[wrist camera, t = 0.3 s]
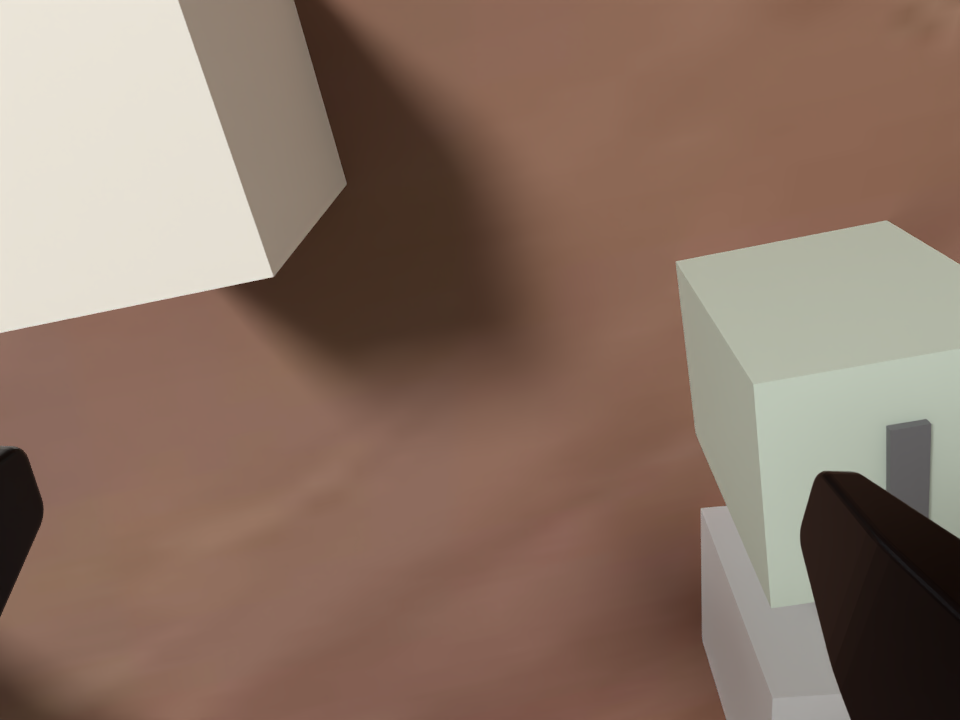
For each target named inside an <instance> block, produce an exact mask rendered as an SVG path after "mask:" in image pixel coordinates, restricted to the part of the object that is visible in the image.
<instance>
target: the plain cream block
mask: <svg viewBox="0 0 960 720" xmlns="http://www.w3.org/2000/svg"><path fill="white" fill-rule="evenodd" d="M346 185H347V183H346V179H345V176H344V172H343V169H342V165H341V162H340V158H339V155H338V151H337V148H336V144H335V141H334V138H333V134H332V131H331V127H330V124H329V120H328V117H327V113H326V110H325V106H324V103H323V99H322V96H321V92H320V89H319V86H318V82H317V79H316V75H315V72H314V68H313V65H312V61H311V58H310V54H309V51H308V47H307V44H306V40H305V37H304V34H303V30H302V27H301V23H300V20H299V16H298V13H297V9H296V6H295V2H294V0H0V333H2V332H7V331H11V330H16V329H21V328H26V327H31V326H36V325H41V324H46V323H51V322H56V321H60V320H65V319H70V318H75V317H80V316H85V315H90V314H95V313H100V312H105V311H109V310H114V309H119V308H124V307H129V306H134V305H139V304H144V303H149V302H154V301H158V300H163V299H168V298H173V297H178V296H183V295H188V294H193V293H198V292H203V291H207V290H212V289H217V288H222V287H227V286H232V285H237V284H242V283H247V282H252V281H256V280H261V279H266V278H271V277H274V276H275V275H276V273H277V272H278V271H279V270H280V268H281V267H282V266H283V265H284V263H285V262H286V261H287V259H288V258H289V257H290V256H291V254H292V253H293V252H294V251H295V249H296V248H297V247H298V246H299V244H300V243H301V242H302V240H303V239H304V238H305V237H306V235H307V234H308V233H309V232H310V230H311V229H312V228H313V227H314V225H315V224H316V223H317V222H318V220H319V219H320V218H321V216H322V215H323V214H324V213H325V211H326V210H327V209H328V208H329V206H330V205H331V204H332V203H333V201H334V200H335V199H336V197H337V196H338V195H339V194H340V192H341V191H342V190H343V189H344V187H345V186H346Z"/></svg>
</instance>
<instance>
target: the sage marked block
mask: <svg viewBox="0 0 960 720" xmlns="http://www.w3.org/2000/svg"><path fill="white" fill-rule="evenodd" d="M676 269H677V277H678V286H679V295H680V303H681V312H682V320H683V329H684V337H685V346H686V354H687V363H688V372H689V380H690V389H691V397H692V406H693V414H694V423H695V432H696V436H697V438H698V440H699V443H700V445H701V447H702V450H703V452H704V454H705V457H706V459H707V461H708V464H709V466H710V468H711V470H712V473H713V475H714V477H715V480H716V482H717V484H718V487H719V489H720V491H721V494H722V496H723V498H724V501H725V503H726V505H727V508H728V510H729V512H730V514H731V517H732V519H733V521H734V524H735V526H736V528H737V531H738V533H739V535H740V538H741V540H742V542H743V545H744V547H745V549H746V552H747V554H748V556H749V558H750V561H751V563H752V565H753V568H754V570H755V572H756V575H757V577H758V579H759V582H760V584H761V586H762V589H763V591H764V593H765V596H766V598H767V600H768V602H769V605H770V607H771V608H777V607H784V606H791V605H798V604H806V603H813V602H815V601H814V597H813V593H812V590H811V586H810V582H809V578H808V574H807V570H806V566H805V562H804V558H803V554H802V550H801V545H800V528H801V523H802V520H803V516H804V513H805V509H806V506H807V502H808V499H809V495H810V492H811V488H812V485H813V482H814V479H815V478H816V476H817V475H818V474H819V473H821V472H822V471H852V472H857V473H860V474H861V475H863V476H865V477H866V478H868V479H869V480H871V481H872V482H874V483H875V484H877V485H878V486H880V487H881V488H883V489H885V490H886V491H888V492H889V493H891V494H892V495H894V496H895V497H897V498H898V499H900V500H901V501H903V502H904V503H906V504H907V505H909V506H911V507H912V508H914V509H915V510H917V511H918V512H920V513H921V514H923V515H924V516H926V517H927V518H929V519H930V520H932V521H933V522H935V523H936V524H938V525H940V526H941V527H943V528H944V529H946V530H947V531H949V532H950V533H952V534H953V535H955V536H956V537H958V538H959V539H960V264H958V263H957V262H955V261H953V260H952V259H950V258H948V257H947V256H945V255H943V254H942V253H940V252H938V251H937V250H935V249H933V248H932V247H930V246H928V245H927V244H925V243H923V242H922V241H920V240H918V239H917V238H915V237H913V236H912V235H910V234H908V233H907V232H905V231H903V230H902V229H900V228H898V227H897V226H895V225H893V224H892V223H890V222H889V221H882V222H877V223H872V224H866V225H861V226H856V227H851V228H846V229H841V230H835V231H830V232H825V233H820V234H815V235H810V236H805V237H799V238H794V239H789V240H784V241H779V242H774V243H768V244H763V245H758V246H753V247H748V248H743V249H737V250H732V251H727V252H722V253H717V254H712V255H707V256H701V257H696V258H691V259H686V260H681V261H676Z"/></svg>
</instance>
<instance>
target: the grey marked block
mask: <svg viewBox="0 0 960 720" xmlns="http://www.w3.org/2000/svg"><path fill="white" fill-rule="evenodd" d="M701 590H702V641H703V645H704V648H705V651H706V655H707V658H708V661H709V664H710V668H711V671H712V674H713V678H714V681H715V684H716V687H717V691H718V694H719V697H720V701H721V704H722V707H723V710H724V714H725V717H726V720H851V719H850V717H849V714H848V712H847V709H846V706H845V704H844V701H843V698H842V696H841V693H840V690H839V687H838V684H837V682H836V679H835V676H834V673H833V670H832V667H831V663H830V660H829V656H828V652H827V649H826V645H825V641H824V637H823V633H822V629H821V625H820V621H819V617H818V613H817V609H816V605H815V602H813V603H806V604H798V605H791V606H784V607H777V608H771V607H770V605H769V602H768V600H767V598H766V596H765V593H764V591H763V589H762V586H761V584H760V582H759V579H758V577H757V575H756V572H755V570H754V568H753V565H752V563H751V561H750V558H749V556H748V554H747V552H746V549H745V547H744V545H743V542H742V540H741V538H740V535H739V533H738V531H737V528H736V526H735V524H734V521H733V519H732V517H731V514H730V512H729V510H728V508H727V506H720V507H709V508H701Z"/></svg>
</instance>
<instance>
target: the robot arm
mask: <svg viewBox="0 0 960 720" xmlns="http://www.w3.org/2000/svg"><path fill="white" fill-rule="evenodd" d="M42 518H43V501H42V498H41V495H40V492H39V489H38V486H37V483H36V480H35V477H34V474H33V471H32V468H31V465H30V462H29V459H28V457H27V455H26V453H25V452H24V451H23V450H22V449H20V448H18V447H15V446H0V616H1V614H2V612H3V609H4V607H5V605H6V603H7V600H8V598H9V596H10V594H11V591H12V589H13V587H14V584H15V582H16V580H17V578H18V575H19V573H20V571H21V568H22V566H23V564H24V562H25V559H26V557H27V555H28V553H29V550H30V548H31V546H32V543H33V541H34V539H35V537H36V534H37V532H38V530H39V528H40V525H41V522H42ZM800 545H801V550H802V554H803V558H804V562H805V566H806V570H807V574H808V578H809V582H810V586H811V590H812V593H813V597H814V601H815V605H816V609H817V613H818V617H819V621H820V625H821V629H822V633H823V637H824V641H825V645H826V649H827V652H828V656H829V660H830V663H831V667H832V670H833V673H834V676H835V679H836V682H837V684H838V687H839V690H840V693H841V696H842V698H843V701H844V704H845V706H846V709H847V712H848V714H849V717H850V719H851V720H960V539H959V538H958V537H956V536H955V535H953V534H952V533H950V532H949V531H947V530H946V529H944V528H943V527H941V526H940V525H938V524H936V523H935V522H933V521H932V520H930V519H929V518H927V517H926V516H924V515H923V514H921V513H920V512H918V511H917V510H915V509H914V508H912V507H911V506H909V505H907V504H906V503H904V502H903V501H901V500H900V499H898V498H897V497H895V496H894V495H892V494H891V493H889V492H888V491H886V490H885V489H883V488H881V487H880V486H878V485H877V484H875V483H874V482H872V481H871V480H869V479H868V478H866V477H865V476H863V475H861V474H860V473H857V472H852V471H822V472H821V473H819V474H818V475H817V476H816V478H815V479H814V482H813V485H812V488H811V492H810V495H809V499H808V502H807V506H806V509H805V513H804V516H803V520H802V523H801V528H800Z"/></svg>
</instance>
